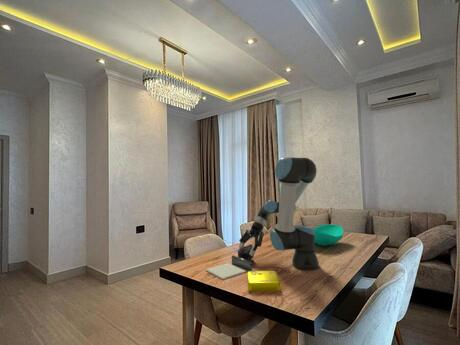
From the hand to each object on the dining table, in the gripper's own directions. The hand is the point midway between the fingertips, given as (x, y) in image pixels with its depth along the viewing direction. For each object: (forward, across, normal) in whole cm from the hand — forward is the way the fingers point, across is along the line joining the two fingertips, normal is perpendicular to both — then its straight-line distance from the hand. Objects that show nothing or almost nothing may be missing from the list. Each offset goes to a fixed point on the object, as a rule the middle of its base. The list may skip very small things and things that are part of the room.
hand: (244, 253), depth 147 cm
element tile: (+18, -27, +9) cm, 34 cm away
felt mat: (+17, -1, +9) cm, 19 cm away
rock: (+1, 0, -6) cm, 6 cm away
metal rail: (+9, -3, +1) cm, 10 cm away
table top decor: (-47, -21, -55) cm, 76 cm away
